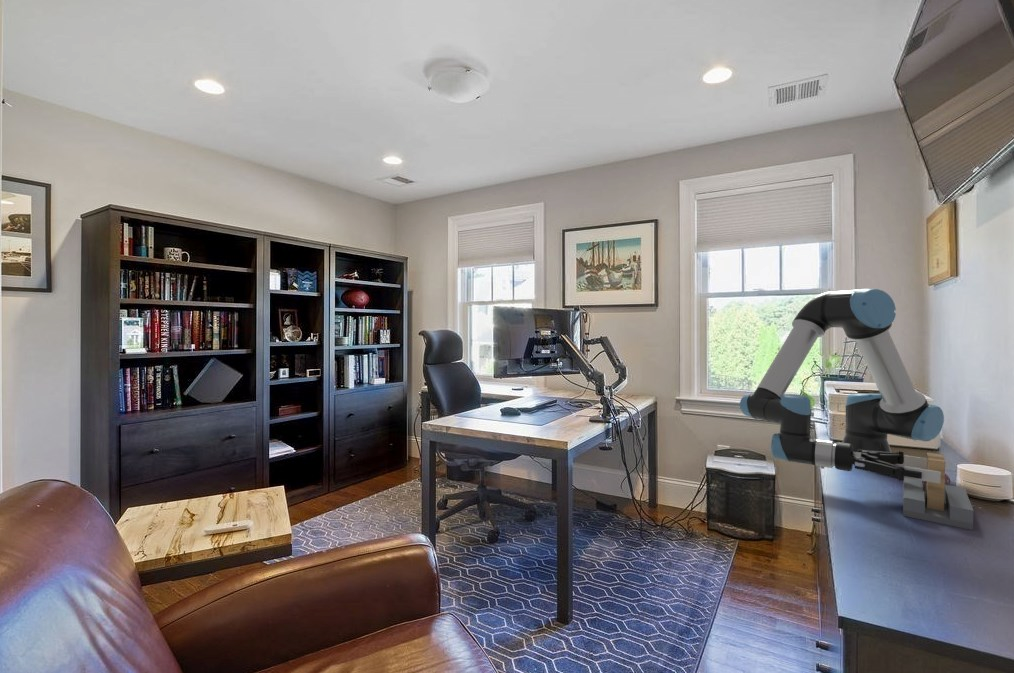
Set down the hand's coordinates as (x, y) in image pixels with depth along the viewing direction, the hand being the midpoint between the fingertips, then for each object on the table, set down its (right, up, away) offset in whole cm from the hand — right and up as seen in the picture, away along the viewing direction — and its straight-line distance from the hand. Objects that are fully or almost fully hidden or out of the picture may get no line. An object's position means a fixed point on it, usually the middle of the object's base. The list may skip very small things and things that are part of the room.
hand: (938, 471), depth 116 cm
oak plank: (0, -9, +1) cm, 9 cm away
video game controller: (+13, -10, +18) cm, 25 cm away
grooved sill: (0, -10, +1) cm, 10 cm away
